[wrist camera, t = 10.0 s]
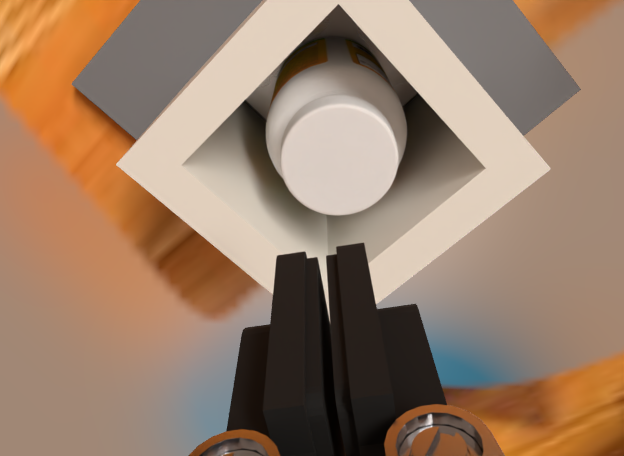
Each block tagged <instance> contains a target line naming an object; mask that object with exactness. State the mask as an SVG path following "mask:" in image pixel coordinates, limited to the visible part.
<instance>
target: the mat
mask: <svg viewBox="0 0 624 456" xmlns="http://www.w3.org/2000/svg"><path fill="white" fill-rule="evenodd" d="M261 1H262V0H140V1H139V3H138V4H137V5H136V6H135V7H134V9H133V10H132V11H131V12H130V14H129V15H128V16H127V17H126V18H125V20H124V21H123V22H122V23H121V24H120V26H119V27H118V28H117V29H116V31H115V32H114V33H113V34H112V35H111V37H110V38H109V39H108V40H107V41H106V43H105V44H104V45H103V46H102V47H101V49H100V50H99V51H98V52H97V54H96V55H95V56H94V57H93V58H92V60H91V61H90V62H89V63H88V64H87V66H86V67H85V68H84V69H83V71H82V72H81V73H80V74H79V75H78V77H77V78H76V79H75V80H74V81H73V83H72V85H73V86H74V87H75V88H77V89H78V90H79V91H80V92H81V93H82V94H84V95H85V96H86V97H87V98H88V99H89V100H91V101H92V102H93V103H94V104H95V105H96V106H98V107H99V108H100V109H101V110H102V111H103V112H105V113H106V114H107V115H108V116H109V117H110V118H112V119H113V120H114V121H115V122H116V123H117V124H118V125H120V126H121V127H122V128H123V129H124V130H125V131H127V132H128V133H129V134H130V135H131V136H132V137H134V138H135V139H136V140H138V139H139V137H140V136H141V135H142V134H143V133H144V132H145V130H146V129H147V128H148V127H149V126H150V125H151V124H152V122H153V121H154V120H155V119H156V118H157V117H158V116H159V114H160V113H161V112H162V111H163V110H164V109H165V107H166V106H167V105H168V104H169V103H170V102H171V101H172V99H173V98H174V97H175V96H176V95H177V94H178V93H179V91H180V90H181V89H182V88H183V87H184V86H185V84H186V83H187V82H188V81H189V80H190V79H191V78H192V77H193V76H194V75H195V74H196V72H197V71H198V70H199V69H200V68H201V67H202V66H203V65H204V64H205V63H206V62H207V60H208V59H209V58H210V57H211V56H212V55H213V54H214V53H215V52H216V51H217V50H218V48H219V47H220V46H221V45H222V44H223V43H224V42H225V41H226V40H227V39H228V38H229V36H230V35H231V34H232V33H233V32H234V31H235V30H236V29H237V28H238V27H239V25H240V24H241V23H242V22H243V21H244V20H245V19H246V18H247V17H248V16H249V15H250V13H251V12H252V11H253V10H254V9H255V8H256V7H257V6H258V5H259V4H260V3H261ZM409 1H410V2H411V3H412V4H413V6H414V7H415V8H416V9H417V10H418V12H419V13H420V14H421V15H422V16H423V18H424V19H425V20H426V21H427V22H428V23H429V25H430V26H431V27H432V28H433V29H434V31H435V32H436V33H437V34H438V35H439V37H440V38H441V39H442V40H443V41H444V42H445V44H446V45H447V46H448V47H449V48H450V50H451V51H452V52H453V53H454V54H455V56H456V57H457V58H458V59H459V60H460V61H461V63H462V64H463V65H464V66H465V67H466V69H467V70H468V71H469V72H470V73H471V74H472V76H473V77H474V78H475V79H476V80H477V82H478V83H479V84H480V85H481V86H482V88H483V89H484V90H485V91H486V92H487V93H488V95H489V96H490V97H491V98H492V99H493V101H494V102H495V103H496V104H497V105H498V107H499V108H500V109H501V110H502V111H503V112H504V114H505V115H506V116H507V117H508V118H509V120H510V121H511V122H512V123H513V124H514V126H515V127H516V128H517V129H518V130H519V131H520V133H521V134H522V135H523V136H524V135H525V134H526V133H528V132H529V131H530V130H531V129H532V128H534V127H535V126H536V125H537V124H539V123H540V122H541V121H542V120H543V119H545V118H546V117H547V116H549V115H550V114H551V113H552V112H553V111H554V110H556V109H557V108H558V107H560V106H561V105H562V104H563V103H564V102H566V101H567V100H568V99H570V98H571V97H572V96H573V95H574V94H576V93H577V92H578V91H579V90H581V89H580V88H579V86H578V85H577V84H576V82H575V81H574V80H573V79H572V78H571V76H570V75H569V73H568V72H567V71H566V69H565V68H564V67H563V66H562V64H561V63H560V62H559V60H558V59H557V58H556V56H555V55H554V54H553V52H552V51H551V50H550V49H549V47H548V46H547V45H546V43H545V42H544V41H543V39H542V38H541V37H540V35H539V34H538V33H537V32H536V30H535V29H534V28H533V26H532V25H531V24H530V22H529V21H528V20H527V18H526V17H525V16H524V15H523V13H522V12H521V11H520V9H519V8H518V7H517V5H516V4H515V3H514V2H513V0H409ZM418 94H419V93H418V92H417V94H416V95H415V96H413V97H412V98H411V99H410V100H409V101H408V102H407V103H406V104H405V105H403V106H402V107H403V108H404V107H405V106H406V105H407V104H408V103H409V102H410V101H411V100H412V99H414V98H415V97H416V96H417V95H418ZM244 102H245V103H246V104H247V105H248V106H249V107H250V108H251V109H252V110H253V111H254V112H255V113H256V114H257V115H258V116H260V117H261V118H262V119H263V120H264V121H265V122H266V121H267V120H266V119H265V118H264V117H263V116H262V115H261V114H260V113H259V112H258V111H257V110H256V109H255V108H254V107H252V106H251V105H250V104H249V103H248V102H247V101H246V100H244Z"/></svg>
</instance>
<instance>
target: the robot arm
mask: <svg viewBox="0 0 624 456" xmlns="http://www.w3.org/2000/svg"><path fill="white" fill-rule="evenodd" d="M336 252H337V254H334V255H327V256H326V265H327V281H328V296H329V312H330V320H329V315H328V310H327V304H326V299H325V294H324V288H323V283H322V278H321V272H320V267H319V262H318V258H317V257H314V258H307V255H306V252H305V251H303V252H297V253H290V254H283V255H277V257H276V267H275V278H274V290H273V301H272V313H271V324H270V325H263V326H255V327H248V328H245V329H244V330H243V332H242V337H241V343H240V349H239V356H238V362H237V368H236V374H235V381H234V388H233V393H232V399H231V406H230V412H229V419H228V426H227V431H226V432H224V433H221V434H219V435H216V436H213V437H211V438H209V439H208V440H206V441H205V442H203V443H202V444H200V445H199V446H197V447H196V449H195V450H194V451H193V452H192V453H191V454H190V455H189V456H505V455H504V453H503V452H502V450H501V448H500V447H499V445H498V443H497V441H496V440H495V438H494V436H493V435H492V433H491V431H490V430H489V429H488V428H487V426H486V425H485V424H484V423H483V422H482V420H480V419H479V418H478V417H476V416H475V415H473V414H472V413H470V412H469V411H466V410H463V409H460V408H458V407H455V406H450V405H447V403H446V400H445V397H444V393H443V390H442V387H441V383H440V380H439V377H438V373H437V370H436V367H435V363H434V360H433V357H432V353H431V350H430V347H429V343H428V340H427V337H426V333H425V330H424V327H423V323H422V320H421V317H420V313H419V310H418V307H417V305H416V304H411V305H404V306H397V307H390V308H383V309H377V308H376V302H375V297H374V291H373V286H372V281H371V276H370V270H369V265H368V260H367V255H366V249H365V244H364V243H357V244H350V245H343V246H337V247H336Z"/></svg>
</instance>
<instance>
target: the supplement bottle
mask: <svg viewBox="0 0 624 456" xmlns="http://www.w3.org/2000/svg"><path fill="white" fill-rule="evenodd" d="M406 141H407V123H406V118H405V114H404V111H403V107H402V104H401V102H400V100H399V98H398V96H397V94H396V92H395V90H394V88H393V86H392V85H391V83H390V81H389V79H388V77H387V75H386V73H385V71H384V70H383V68H382V66H381V65H380V63H379V61H378V60H377V59H376V57H375V56H374V55H373V54H372V53H371V52H370V51H369V50H368V49H366V48H365V47H364V46H362V45H361V44H359V43H357V42H355V41H353V40H350V39H347V38H342V37H322V38H318V39H314V40H312V41H309V42H307V43H305V44H303V45H302V46H300V47H299V48H297V49H296V50H295V51H294V52H293V53H292V54H291V55H290V56H289V57H288V58H287V60H286V61H285V62H284V64H283V66H282V67H281V70H280V72H279V74H278V77H277V80H276V84H275V88H274V92H273V96H272V100H271V104H270V108H269V112H268V116H267V121H266V143H267V148H268V152H269V155H270V158H271V160H272V162H273V165H274V167H275V168H276V170H277V172H278V173H279V175H280V176H281V177H282V178H283V179H284V182H285V184H286V186H287V187H288V189H289V191H290V192H291V193H292V195H293V196H294V197H295V198H296V199H297V200H298V201H299V202H301V203H302V204H303V205H305V206H306V207H308V208H309V209H311V210H314V211H316V212H319V213H322V214H327V215H337V216H340V215H350V214H354V213H357V212H360V211H363V210H365V209H367V208H369V207H371V206H372V205H374V204H375V203H376V202H377V201H379V200H380V199H381V198H382V197H383V196H384V195H385V194H386V192H387V191H388V190H389V188H390V187H391V185H392V183H393V181H394V178H395V176H396V173H397V169H398V166H399V164H400V162H401V160H402V157H403V154H404V151H405V147H406Z"/></svg>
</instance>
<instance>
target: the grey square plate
mask: <svg viewBox="0 0 624 456" xmlns="http://www.w3.org/2000/svg"><path fill="white" fill-rule="evenodd" d="M322 37H342V38H347V39H350V40H353V41H355V42H357V43H359V44H361V45H362V46H364V47H365V48H366V49H368V50H369V51H370V52H371V53H372V54H373V55H374V56H375V57H376V59H377V60H378V61H379V63H380V65H381V66H382V68H383V70H384V71H385V73H386V75H387V77H388V79H389V81H390V83H391V85H392V86H393V88H394V90H395V92H396V94H397V96H398V98H399V100H400V102H401V104H402V106H403V105H405V104H406V103H407V102H408V101H409V100H410V99H411V98H412V97H413V96H415V95H416V94H417V91H416V90H415V89H414V88H413V86H412V85H411V84H410V83H409V82H408V81H407V80H406V79H405V77H404V76H403V75H402V74H401V73H400V72H399V71H398V70H397V69H396V67H395V66H394V65H393V64H392V63H391V62H390V61H389V60H388V59H387V57H386V56H385V55H384V54H383V53H382V52H381V51H380V50H379V48H378V47H377V46H376V45H375V44H374V43H373V42H372V41H371V40H370V38H369V37H368V36H367V35H366V34H365V33H364V32H363V31H362V30H361V28H360V27H359V26H358V25H357V24H356V23H355V22H354V21H353V20H352V18H351V17H350V16H349V15H348V14H347V13H346V12H345V11H344V9H343V8H342V7H341V6H340V5H339V4H338V5H337V6H336V7H335V8H334V9H333V10H332V11H331V12H330V13H329V14H328V15H327V16H326V17H325V18H324V19H323V20H322V21H321V22H320V23H319V24H318V25H317V26H316V28H315V29H314V30H313V31H312V32H311V33H310V34H309V35H308V36H307V37H306V38H305V39H304V40H303V41H302V42H301V43H300V44H299V45H298V46H297V47H296V48H295V49H294V50H293V51H292V52H291V53H290V54H289V55H288V56H287V57H286V58H285V59H284V60H283V61H282V62H281V63H280V64H279V65H278V67H277V68H276V69H275V70H274V71H273V72H272V73H271V74H270V75H269V76H268V77H267V78H266V79H265V80H264V81H263V82H262V83H261V84H260V85H259V86H258V87H257V88H256V89H255V90H254V91H253V92H252V93H251V94H250V95H249V96H248V97H247V98H246V99H245V100H246V101H247V102H248V103H249V104H250V105H251V106H252V107H254V108H255V109H256V110H257V111H258V112H259V113H260V114H261V115H262V116H263V117H264V118H265V119H266V120H267V116H268V112H269V108H270V104H271V100H272V96H273V92H274V88H275V84H276V80H277V77H278V74H279V72H280V70H281V67H282V66H283V64H284V62H285V61H286V60H287V58H288V57H289V56H290V55H291V54H292V53H293V52H294V51H295V50H296V49H297V48H299V47H300V46H302V45H303V44H305V43H307V42H309V41H312V40H314V39H318V38H322Z"/></svg>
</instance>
